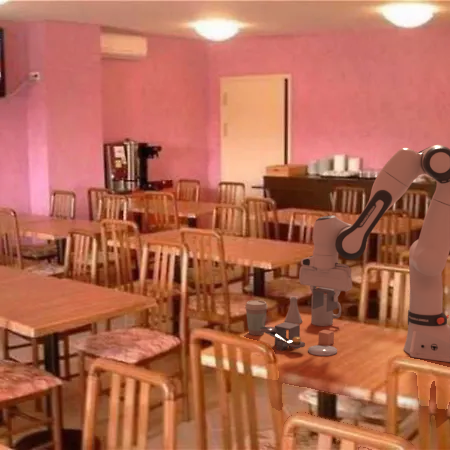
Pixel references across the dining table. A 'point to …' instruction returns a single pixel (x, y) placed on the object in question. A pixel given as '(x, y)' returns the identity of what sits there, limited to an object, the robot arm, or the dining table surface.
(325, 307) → the mug
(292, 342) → the balance
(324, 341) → the block
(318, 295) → the hood
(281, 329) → the hood
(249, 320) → the coffee cup
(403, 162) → the robot arm
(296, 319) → the flask
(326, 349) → the saucer
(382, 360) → the dining table surface
